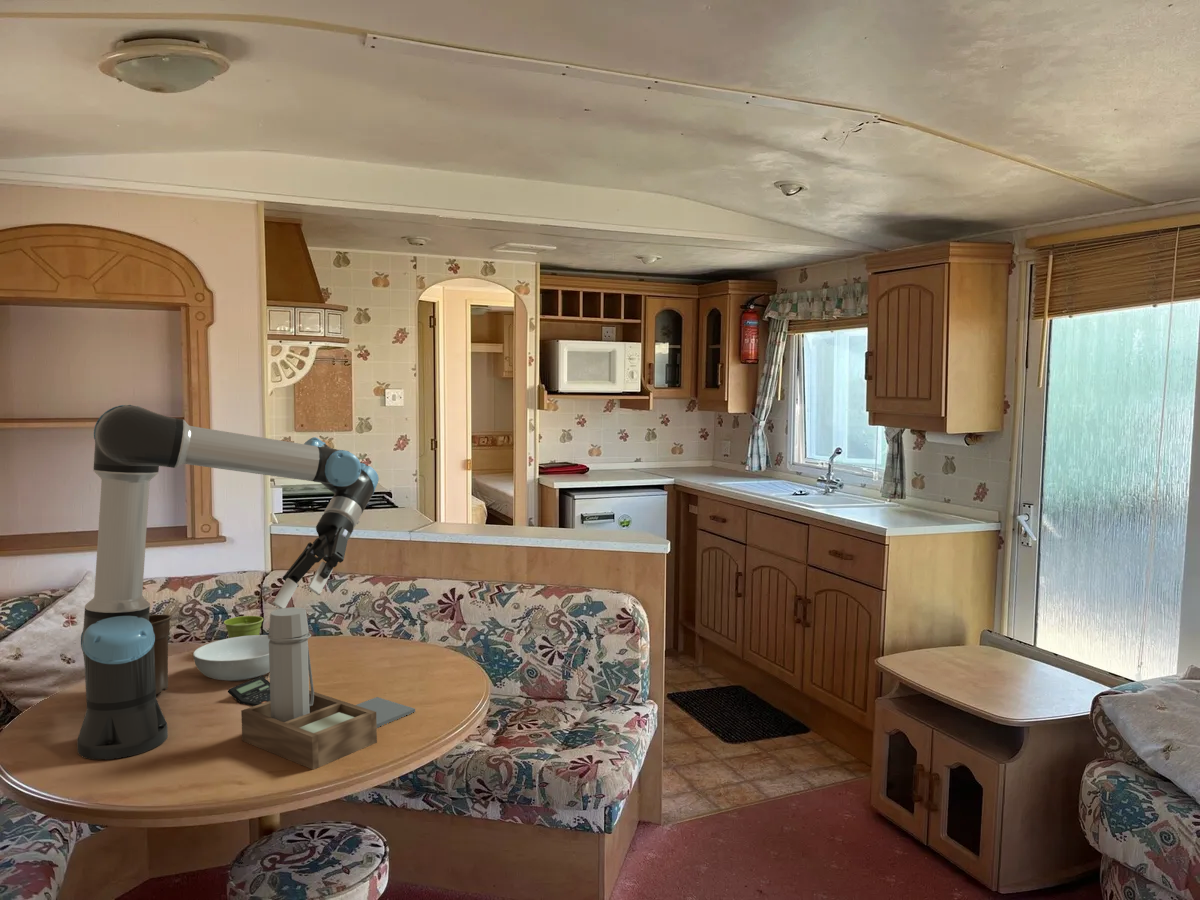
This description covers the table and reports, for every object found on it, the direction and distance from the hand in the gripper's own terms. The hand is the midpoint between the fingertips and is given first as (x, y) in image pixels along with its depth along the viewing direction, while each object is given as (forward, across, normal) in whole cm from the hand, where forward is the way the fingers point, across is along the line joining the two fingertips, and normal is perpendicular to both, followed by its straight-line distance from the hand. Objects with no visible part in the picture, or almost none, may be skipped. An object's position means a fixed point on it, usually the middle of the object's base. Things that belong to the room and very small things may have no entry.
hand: (295, 598), depth 177 cm
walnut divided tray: (+25, -5, -15) cm, 29 cm away
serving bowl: (+3, +39, -12) cm, 41 cm away
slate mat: (+13, -4, -26) cm, 29 cm away
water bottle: (+24, 0, -14) cm, 28 cm away
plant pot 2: (-8, +53, -15) cm, 56 cm away
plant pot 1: (+17, +43, +5) cm, 47 cm away
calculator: (+12, +22, -13) cm, 28 cm away
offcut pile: (+27, -10, -16) cm, 33 cm away
